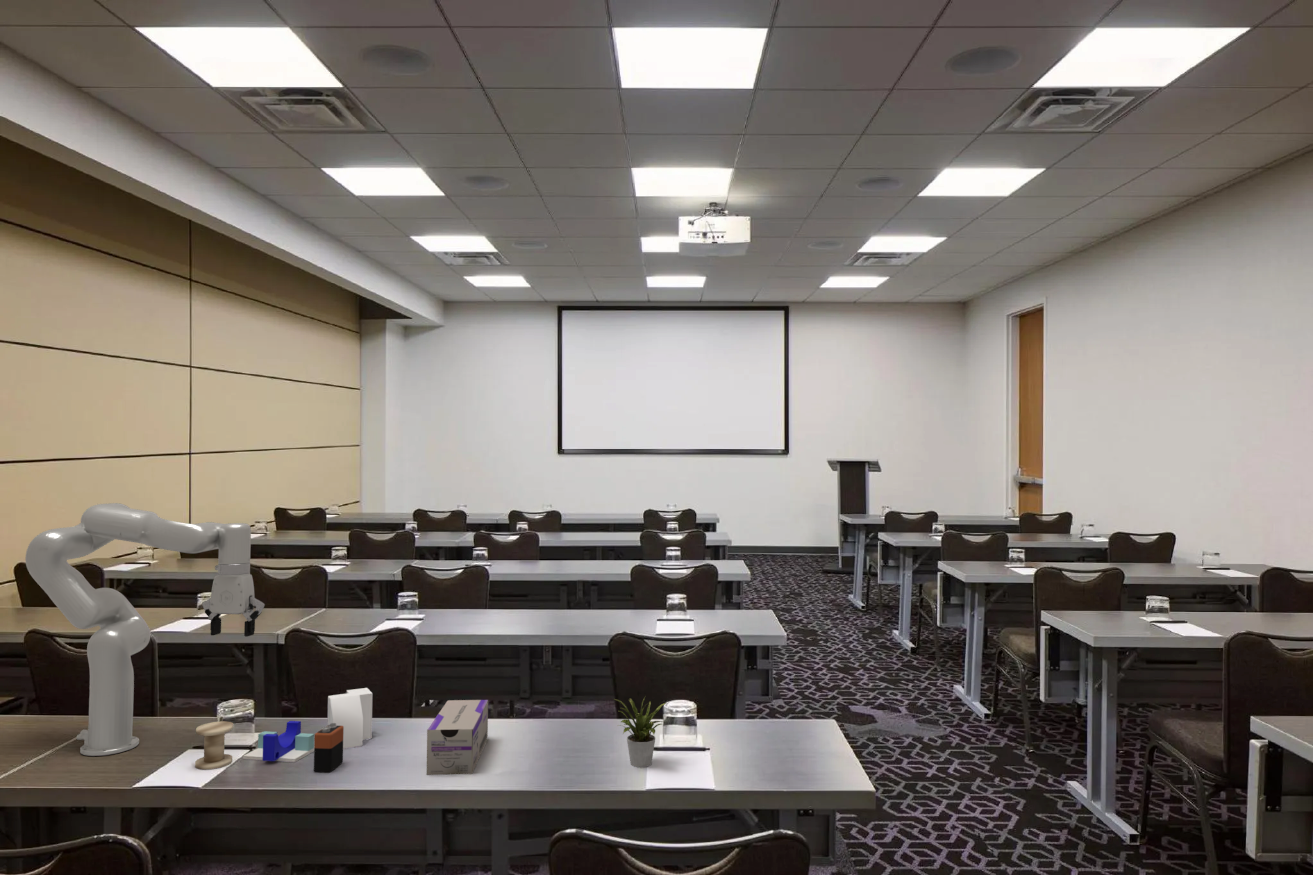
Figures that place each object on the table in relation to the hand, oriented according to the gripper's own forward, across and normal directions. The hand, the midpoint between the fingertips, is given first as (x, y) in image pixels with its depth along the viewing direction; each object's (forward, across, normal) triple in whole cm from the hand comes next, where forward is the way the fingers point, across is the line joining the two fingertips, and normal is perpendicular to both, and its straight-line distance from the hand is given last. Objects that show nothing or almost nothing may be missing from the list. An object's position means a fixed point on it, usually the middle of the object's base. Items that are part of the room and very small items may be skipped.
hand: (232, 634), depth 214 cm
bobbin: (+28, +6, -14) cm, 32 cm away
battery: (+28, +35, -12) cm, 47 cm away
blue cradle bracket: (+28, +18, -6) cm, 34 cm away
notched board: (+28, +18, -5) cm, 34 cm away
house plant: (+28, +108, +2) cm, 112 cm away
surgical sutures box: (+29, +63, 0) cm, 69 cm away
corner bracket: (+28, +30, +7) cm, 42 cm away
